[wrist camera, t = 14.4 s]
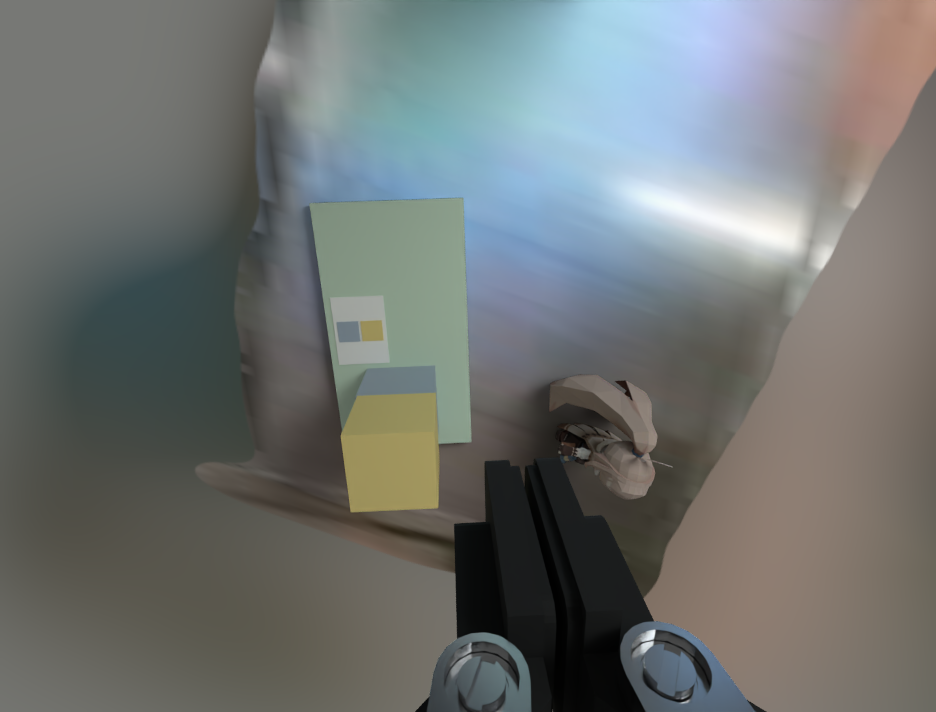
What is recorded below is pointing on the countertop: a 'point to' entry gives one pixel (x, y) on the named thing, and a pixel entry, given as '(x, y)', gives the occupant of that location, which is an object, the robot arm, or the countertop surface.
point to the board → (397, 297)
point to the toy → (615, 459)
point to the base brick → (399, 381)
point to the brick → (392, 452)
